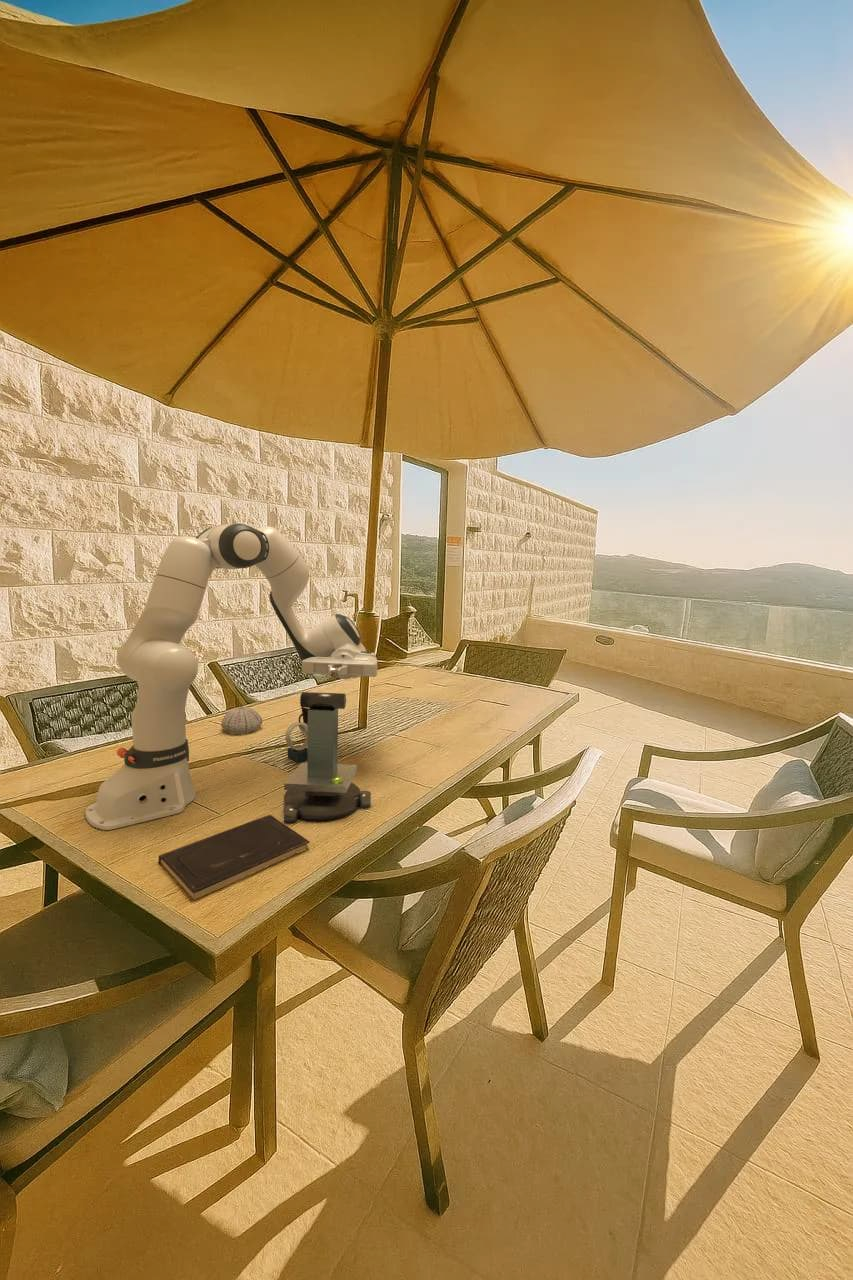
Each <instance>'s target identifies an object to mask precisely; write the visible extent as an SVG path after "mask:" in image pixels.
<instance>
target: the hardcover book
mask: <svg viewBox="0 0 853 1280" xmlns="http://www.w3.org/2000/svg"><path fill="white" fill-rule="evenodd" d="M309 843H310V840H308V839H307V838H305V837H304V836H303V835H301V834H299V833H298V832H297V831H295V830H293V829H292V828H290V827H289V826H287V824H286V823H284V822H282V821H280V820H279V819H277V817H274V816H273V815H271V814H267V815H265V816H262V817H259V818H257V819H254V820H251V821H248V822H246V823H243V824H241V825H238V826H235V827H233V828H229V829H227V830H224V831H222V832H219V833H216V834H213V835H211V836H208V837H205V838H203V839H199V840H197V841H194V842H191V843H189V844H186V845H183V846H181V847H177V848H176V849H172V850H169V851H167V852H164V853H162V854H159V855H158V863H159V864H161V865H163V866H164V868H165V869H166V870H167V871H168V872H169V873H170V874H171V875H172V876H173V878H174V879H175V880H176V881H177V882H178V883H179V884H180V885H181V887H182V888H183V889H184V890H185V891H186V892H187V893H188V894H189V895H190V897H191V898H192V899H193V900H197V899H199V898H201V897H203V896H205V895H208V894H210V893H212V891H213V892H215V891H217V890H219V889H222V888H224V887H226V886H228V885H231V884H232V883H233V884H234V882H237V881H240V880H241V878H242V879H244V878H246V877H248V876H250V875H252V874H251V873H253V872H255V873H257V872H259V871H261V870H260V869H262V868H264V867H266V866H268V867H270V866H269V865H271V864H273V863H275V862H277V863H279V862H281V861H280V860H282V859H284V858H286V859H288V858H290V857H289V856H291V855H293V856H294V854H295V853H297V852H299V853H301V852H300V851H302V850H304V849H306V850H308V849H307V848H309ZM304 851H305V850H304ZM302 852H303V851H302ZM297 854H298V853H297ZM295 855H296V854H295ZM287 857H288V858H287ZM291 857H292V856H291ZM284 860H285V859H284ZM278 861H279V862H278ZM282 861H283V860H282ZM275 864H276V863H275ZM273 865H274V864H273ZM271 866H272V865H271ZM266 868H267V867H266ZM264 869H265V868H264ZM258 870H259V871H258ZM262 870H263V869H262ZM256 871H257V872H256ZM249 874H250V875H249ZM253 874H254V873H253ZM247 875H248V876H247ZM245 876H246V877H245ZM243 877H244V878H243Z"/></svg>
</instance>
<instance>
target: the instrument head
mask: <svg viewBox="0 0 853 1280" xmlns="http://www.w3.org/2000/svg"><path fill="white" fill-rule="evenodd" d="M299 703H300V708H301V707H305V708H310V709H308V746H307V748H308V757H307V761H306V762H302V763H300V765H299V766H297V768H296V769H295V770H294V771H293V773H292V774H291V775H290V776H289V777H288V779H287V780H286V781H285V782H284V784H283V785H284V786H283V787H284V788H283V789H284V791H287V790H294V791H317V792H340V793H346V792H347V790H348V788H349V786H350V784H351V782H352V783H353V779H354V777H355V775H356V774H357V772H358V764H338V763H339V762H338V759H339V758H338V757H339V756H338V753H339V751H338V750H339V749H338V748H339V746H338V745H339V743H338V742H339V710H345V708H346V704H347V695H346V693H341V692H340V693H339V692H337V693H335V692H314V691H313V692H312V691H308V692H307V691H302V692H301V694H300V698H299Z"/></svg>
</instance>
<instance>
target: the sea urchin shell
mask: <svg viewBox="0 0 853 1280" xmlns="http://www.w3.org/2000/svg"><path fill="white" fill-rule="evenodd" d="M262 724H263V718H262V716H261V715H260V714H259V712H258V711H257V710H255V709H253V708H252V707H248V706H237V707H233V708H231V709H230V710H228V711H227V713H225V715H224V716H223V718H222V720H221V723H220V726H221V729H223V731H225V732H226V733H228V732H229V733H230V734H234V735H244V734H250V733H254V731H255V732H256V731H257V730H259V729H261V726H262ZM243 733H244V734H243Z"/></svg>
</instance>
